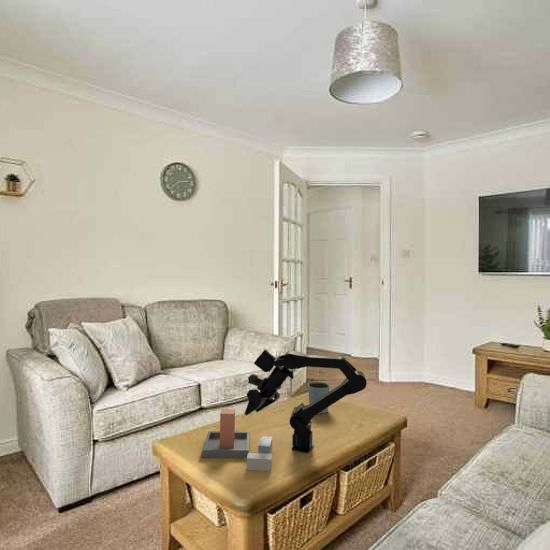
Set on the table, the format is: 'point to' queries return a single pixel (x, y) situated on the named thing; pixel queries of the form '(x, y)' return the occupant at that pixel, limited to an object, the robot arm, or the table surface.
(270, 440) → the slate brick
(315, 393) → the blue-grey bin
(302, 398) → the table surface
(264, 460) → the grey brick
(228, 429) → the column
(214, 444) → the tray
